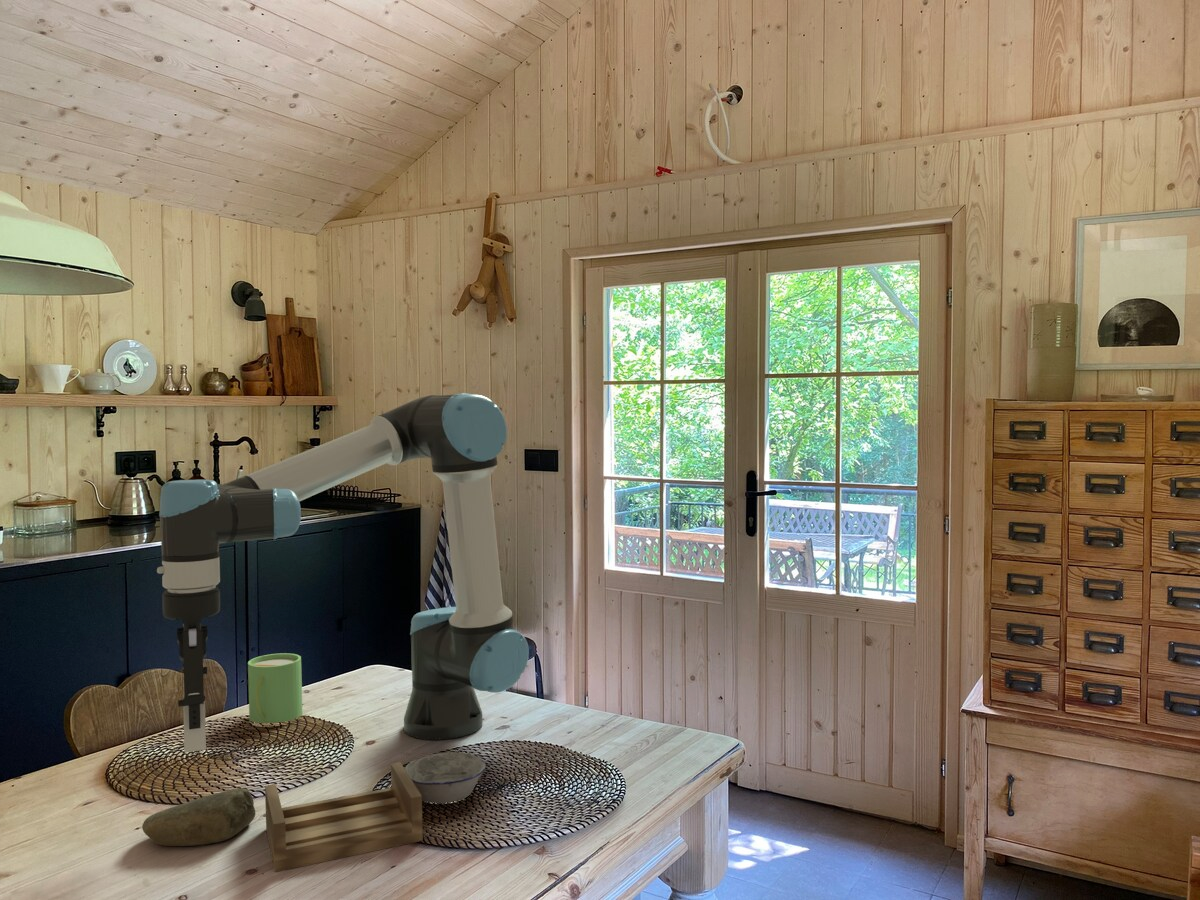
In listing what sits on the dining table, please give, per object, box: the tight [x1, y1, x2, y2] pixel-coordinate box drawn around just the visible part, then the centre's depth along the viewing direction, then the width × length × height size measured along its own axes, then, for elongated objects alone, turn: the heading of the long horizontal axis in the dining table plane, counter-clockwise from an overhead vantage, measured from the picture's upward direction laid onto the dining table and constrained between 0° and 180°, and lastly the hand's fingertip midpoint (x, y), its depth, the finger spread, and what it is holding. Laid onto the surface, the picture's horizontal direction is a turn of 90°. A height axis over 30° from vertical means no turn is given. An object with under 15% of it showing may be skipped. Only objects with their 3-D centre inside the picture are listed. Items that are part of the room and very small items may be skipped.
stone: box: [141, 788, 256, 847], centre depth 131 cm, size 9×14×10 cm, turn 106°
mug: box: [245, 652, 303, 724], centre depth 180 cm, size 13×10×12 cm
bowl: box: [404, 751, 487, 803], centre depth 144 cm, size 13×13×5 cm
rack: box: [264, 761, 424, 873], centre depth 131 cm, size 20×14×6 cm
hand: (194, 734), depth 130 cm, fingers open, 13 cm apart
